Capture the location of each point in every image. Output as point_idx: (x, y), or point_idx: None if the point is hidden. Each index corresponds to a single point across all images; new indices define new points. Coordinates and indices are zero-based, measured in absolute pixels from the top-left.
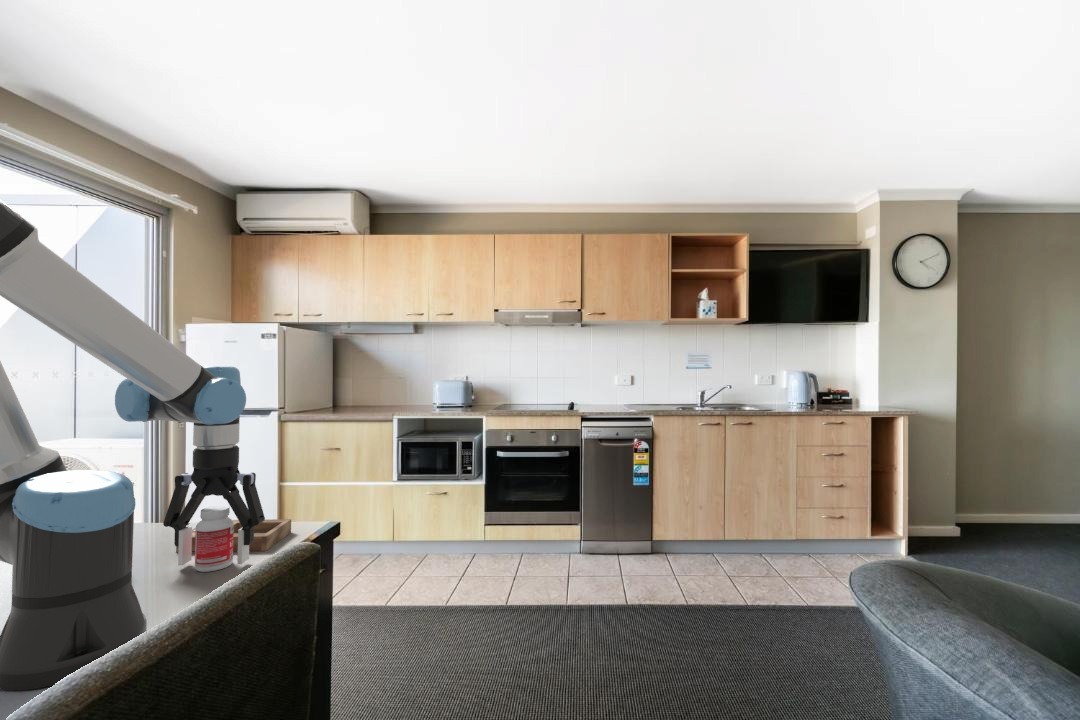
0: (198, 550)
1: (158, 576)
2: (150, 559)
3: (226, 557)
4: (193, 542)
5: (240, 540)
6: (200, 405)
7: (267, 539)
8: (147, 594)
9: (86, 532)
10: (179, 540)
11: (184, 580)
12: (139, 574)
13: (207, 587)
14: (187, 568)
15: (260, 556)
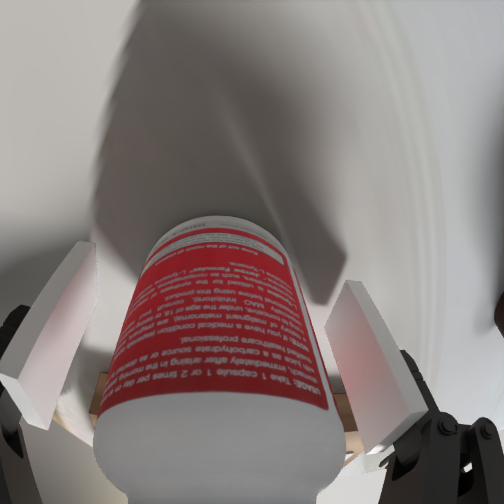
0: (282, 289)
1: (408, 218)
2: (430, 355)
3: (141, 275)
4: (341, 418)
5: (31, 320)
6: None
7: (92, 405)
8: (394, 22)
9: None
10: (404, 366)
11: (295, 135)
12: (456, 253)
13: (146, 21)
14: (323, 278)
15: (88, 335)
